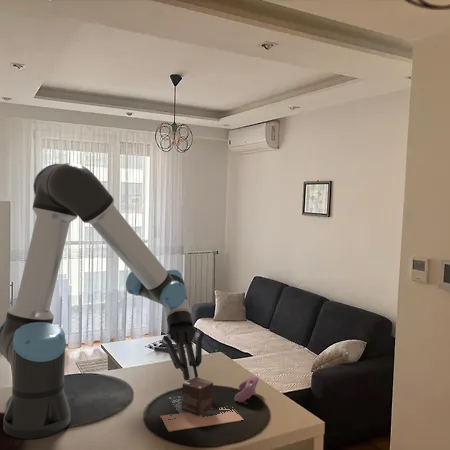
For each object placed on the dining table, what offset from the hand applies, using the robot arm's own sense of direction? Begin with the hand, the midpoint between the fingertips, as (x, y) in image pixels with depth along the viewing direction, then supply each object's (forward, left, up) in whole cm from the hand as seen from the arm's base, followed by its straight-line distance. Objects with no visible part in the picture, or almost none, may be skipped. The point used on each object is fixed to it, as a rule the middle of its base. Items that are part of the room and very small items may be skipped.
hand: (193, 390), depth 129 cm
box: (+1, -5, -3) cm, 6 cm away
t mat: (+1, -5, -3) cm, 6 cm away
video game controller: (+15, +5, -4) cm, 16 cm away
